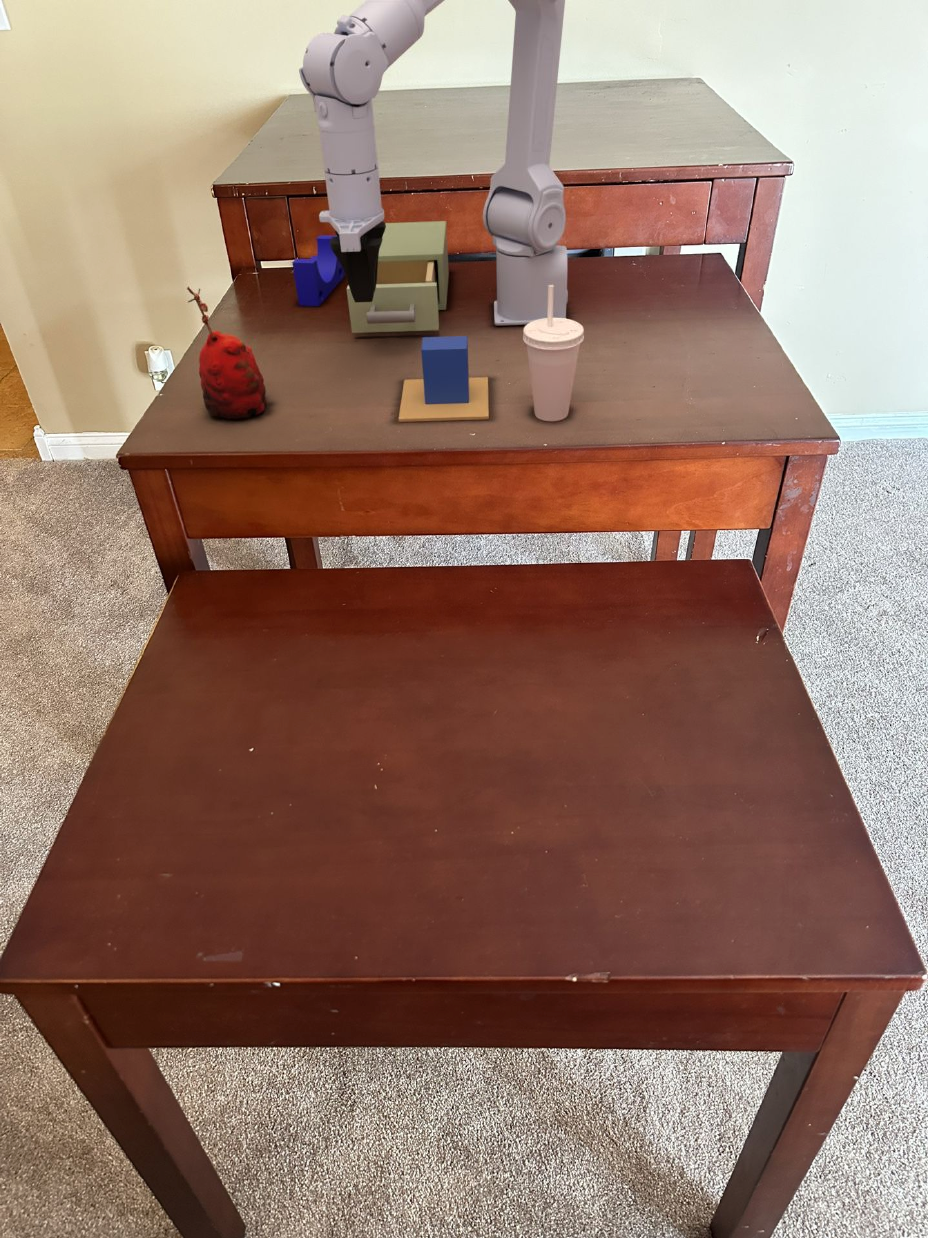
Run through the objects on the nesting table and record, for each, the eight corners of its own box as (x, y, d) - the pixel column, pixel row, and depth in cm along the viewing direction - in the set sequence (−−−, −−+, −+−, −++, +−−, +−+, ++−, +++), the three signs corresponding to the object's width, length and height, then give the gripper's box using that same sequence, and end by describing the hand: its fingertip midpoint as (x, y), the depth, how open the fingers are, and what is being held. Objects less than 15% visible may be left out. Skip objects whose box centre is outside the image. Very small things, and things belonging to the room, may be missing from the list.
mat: (488, 379, 107) (488, 376, 107) (488, 419, 99) (488, 416, 99) (404, 382, 107) (404, 379, 107) (398, 421, 99) (398, 418, 99)
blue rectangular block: (469, 389, 104) (467, 335, 100) (469, 403, 101) (467, 348, 97) (426, 391, 104) (422, 337, 100) (425, 404, 102) (421, 349, 97)
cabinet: (445, 309, 124) (442, 253, 120) (355, 312, 125) (349, 256, 120) (448, 273, 136) (446, 220, 131) (366, 276, 136) (360, 223, 131)
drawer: (437, 342, 114) (435, 297, 110) (348, 345, 114) (342, 300, 110) (442, 292, 127) (439, 250, 123) (362, 295, 127) (357, 253, 124)
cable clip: (316, 275, 137) (310, 234, 133) (344, 276, 136) (339, 235, 132) (289, 304, 128) (282, 261, 124) (319, 305, 127) (312, 262, 123)
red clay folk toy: (281, 410, 103) (256, 278, 93) (228, 431, 99) (197, 296, 90) (245, 390, 107) (218, 262, 98) (193, 410, 104) (160, 279, 94)
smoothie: (552, 394, 103) (556, 271, 94) (592, 414, 99) (599, 287, 90) (510, 412, 100) (510, 286, 91) (549, 432, 96) (553, 303, 87)
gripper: (322, 152, 101) (338, 275, 109) (303, 188, 89) (322, 321, 98) (385, 150, 100) (396, 273, 109) (373, 185, 89) (386, 319, 98)
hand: (365, 296), depth 104 cm, fingers closed
